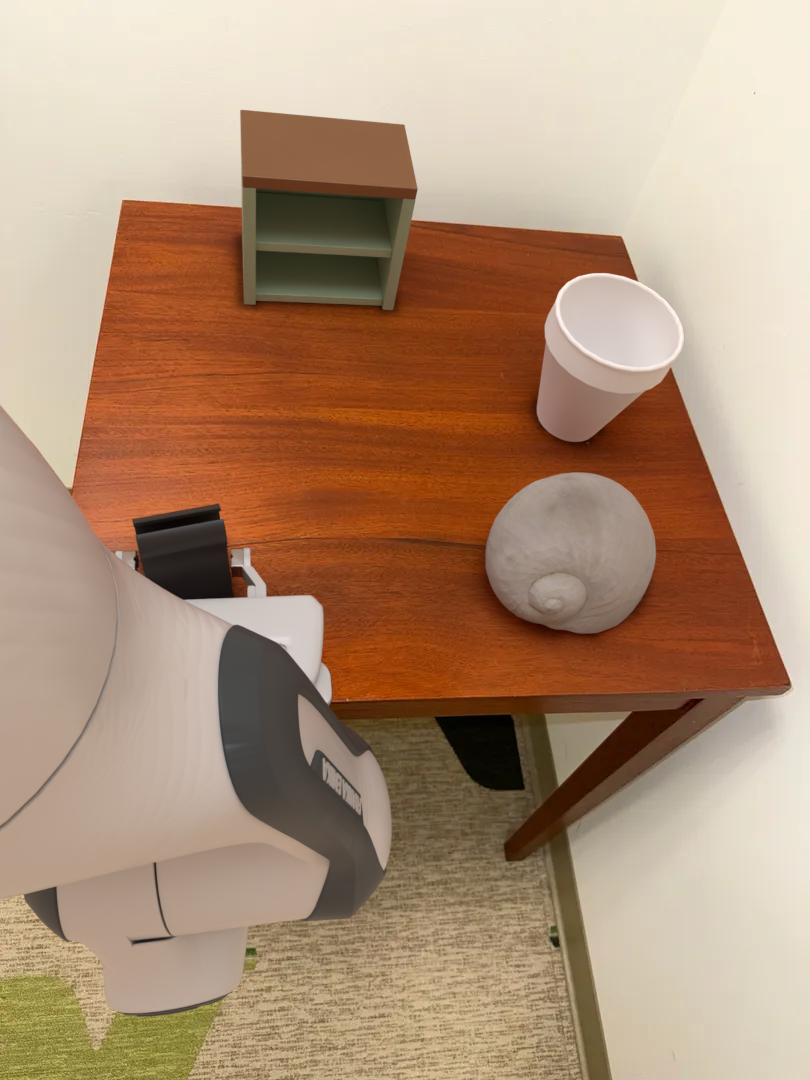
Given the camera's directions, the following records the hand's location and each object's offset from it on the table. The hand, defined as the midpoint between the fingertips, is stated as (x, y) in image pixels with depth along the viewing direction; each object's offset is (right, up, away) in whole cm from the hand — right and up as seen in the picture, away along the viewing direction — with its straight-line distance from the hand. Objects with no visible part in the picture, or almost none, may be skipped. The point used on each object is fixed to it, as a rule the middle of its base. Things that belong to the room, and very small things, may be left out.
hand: (184, 552), depth 58 cm
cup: (+34, +14, +22) cm, 43 cm away
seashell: (+31, -2, +12) cm, 34 cm away
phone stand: (-1, -4, +5) cm, 6 cm away
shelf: (+7, +30, +26) cm, 41 cm away
